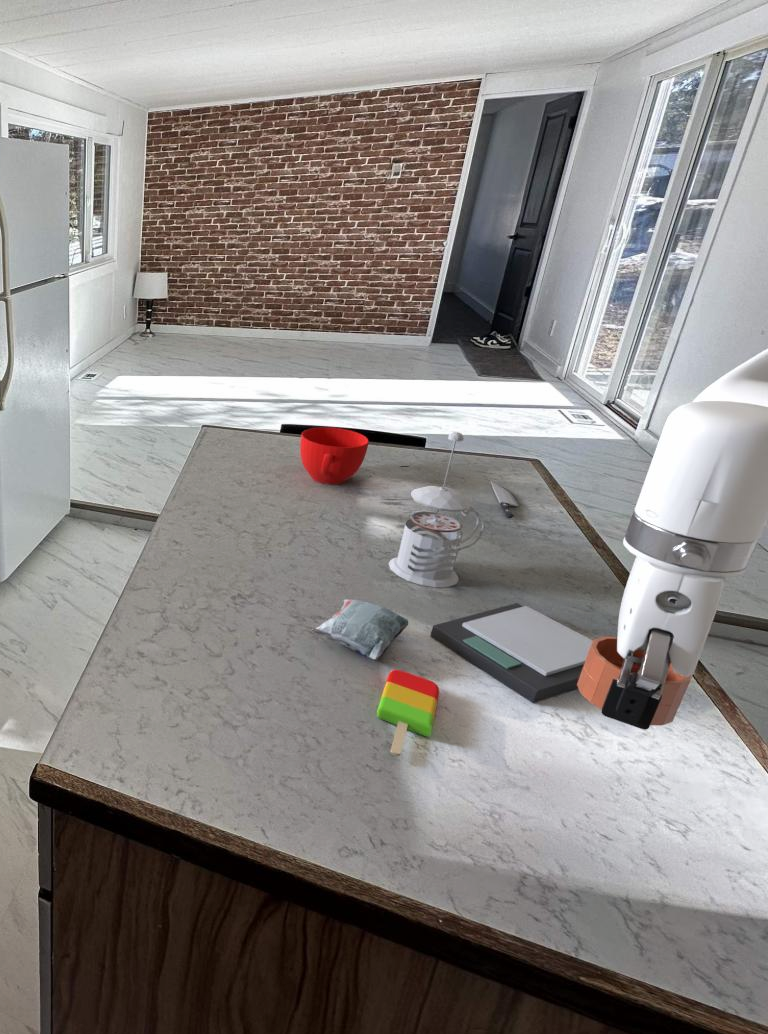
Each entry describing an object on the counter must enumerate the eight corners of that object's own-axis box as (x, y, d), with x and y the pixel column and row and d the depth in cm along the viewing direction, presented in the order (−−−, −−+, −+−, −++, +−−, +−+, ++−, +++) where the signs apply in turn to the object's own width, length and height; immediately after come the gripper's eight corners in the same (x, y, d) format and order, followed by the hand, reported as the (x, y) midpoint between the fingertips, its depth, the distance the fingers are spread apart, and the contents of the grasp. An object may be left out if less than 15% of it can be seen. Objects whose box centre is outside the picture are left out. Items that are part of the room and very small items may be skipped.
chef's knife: (507, 485, 136) (489, 482, 137) (508, 480, 135) (491, 477, 137) (525, 523, 120) (505, 519, 122) (527, 518, 120) (507, 514, 121)
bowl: (606, 673, 67) (623, 630, 65) (690, 718, 61) (711, 673, 59) (558, 689, 66) (574, 645, 63) (639, 737, 59) (659, 691, 57)
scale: (513, 613, 96) (517, 599, 95) (624, 674, 84) (631, 658, 83) (429, 636, 92) (433, 621, 91) (533, 703, 80) (539, 687, 79)
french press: (379, 554, 113) (408, 421, 104) (453, 558, 111) (489, 422, 102) (402, 585, 104) (436, 442, 95) (483, 590, 102) (526, 444, 93)
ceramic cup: (287, 490, 139) (293, 447, 135) (300, 463, 152) (306, 423, 148) (355, 502, 132) (363, 458, 128) (363, 473, 145) (371, 432, 141)
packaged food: (309, 643, 92) (315, 615, 90) (344, 609, 99) (350, 582, 97) (375, 674, 86) (382, 644, 84) (407, 636, 93) (415, 608, 91)
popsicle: (438, 694, 82) (441, 682, 81) (422, 771, 72) (425, 759, 71) (388, 676, 85) (391, 665, 85) (366, 747, 75) (368, 735, 74)
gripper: (764, 601, 48) (683, 774, 55) (742, 515, 60) (676, 668, 66) (625, 568, 53) (566, 731, 60) (629, 495, 65) (579, 639, 71)
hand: (624, 697), depth 63 cm, fingers closed on bowl, 7 cm apart
